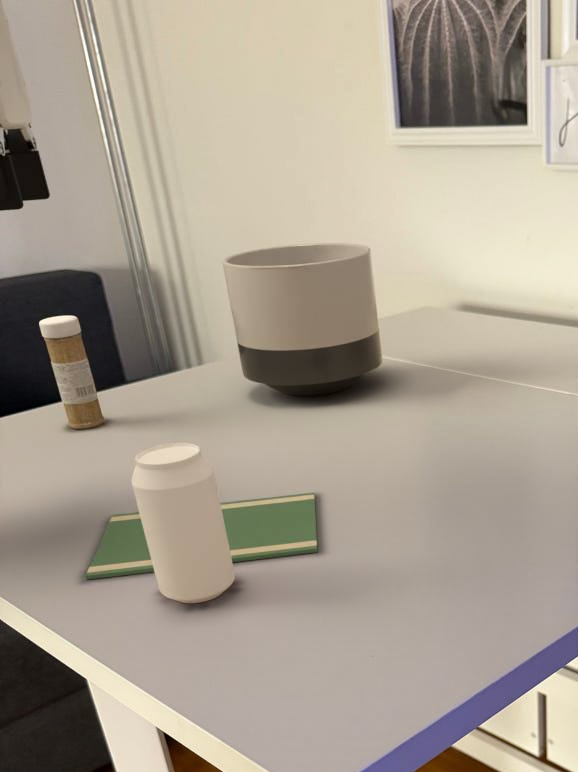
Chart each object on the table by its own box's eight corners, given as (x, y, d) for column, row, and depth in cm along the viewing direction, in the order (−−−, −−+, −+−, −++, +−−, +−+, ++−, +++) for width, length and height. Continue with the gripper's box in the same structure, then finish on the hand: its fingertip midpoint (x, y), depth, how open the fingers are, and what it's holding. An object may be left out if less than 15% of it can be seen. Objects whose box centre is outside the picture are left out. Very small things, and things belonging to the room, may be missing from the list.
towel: (86, 579, 81) (85, 575, 81) (113, 518, 93) (112, 514, 92) (317, 552, 83) (316, 548, 83) (314, 496, 95) (314, 492, 95)
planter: (218, 395, 131) (192, 260, 122) (322, 364, 143) (305, 240, 134) (308, 416, 119) (286, 270, 110) (412, 381, 132) (400, 246, 123)
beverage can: (152, 611, 75) (115, 469, 69) (171, 576, 80) (138, 442, 74) (229, 606, 75) (198, 464, 69) (243, 572, 80) (216, 437, 74)
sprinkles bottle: (101, 417, 124) (73, 312, 117) (108, 425, 121) (80, 318, 114) (65, 424, 122) (35, 318, 115) (72, 432, 119) (41, 324, 112)
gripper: (-61, -18, 81) (1, 199, 89) (-141, -45, 66) (-58, 218, 75) (29, -22, 82) (82, 193, 90) (-30, -50, 67) (40, 211, 75)
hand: (19, 204), depth 82 cm, fingers open, 9 cm apart
